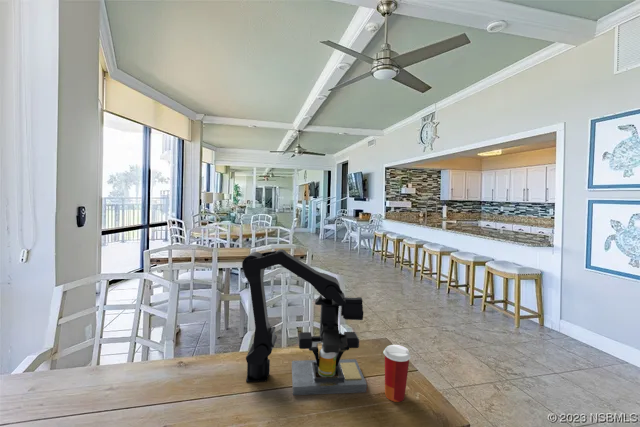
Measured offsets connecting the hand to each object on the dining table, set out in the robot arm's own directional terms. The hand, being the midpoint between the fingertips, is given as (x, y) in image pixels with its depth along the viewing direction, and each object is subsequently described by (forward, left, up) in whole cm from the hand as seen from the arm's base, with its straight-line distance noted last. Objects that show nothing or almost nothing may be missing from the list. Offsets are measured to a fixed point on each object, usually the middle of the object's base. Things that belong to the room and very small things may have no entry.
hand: (327, 366), depth 98 cm
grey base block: (0, 0, -4) cm, 4 cm away
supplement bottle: (0, 0, -3) cm, 3 cm away
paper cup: (+19, -9, -5) cm, 22 cm away
